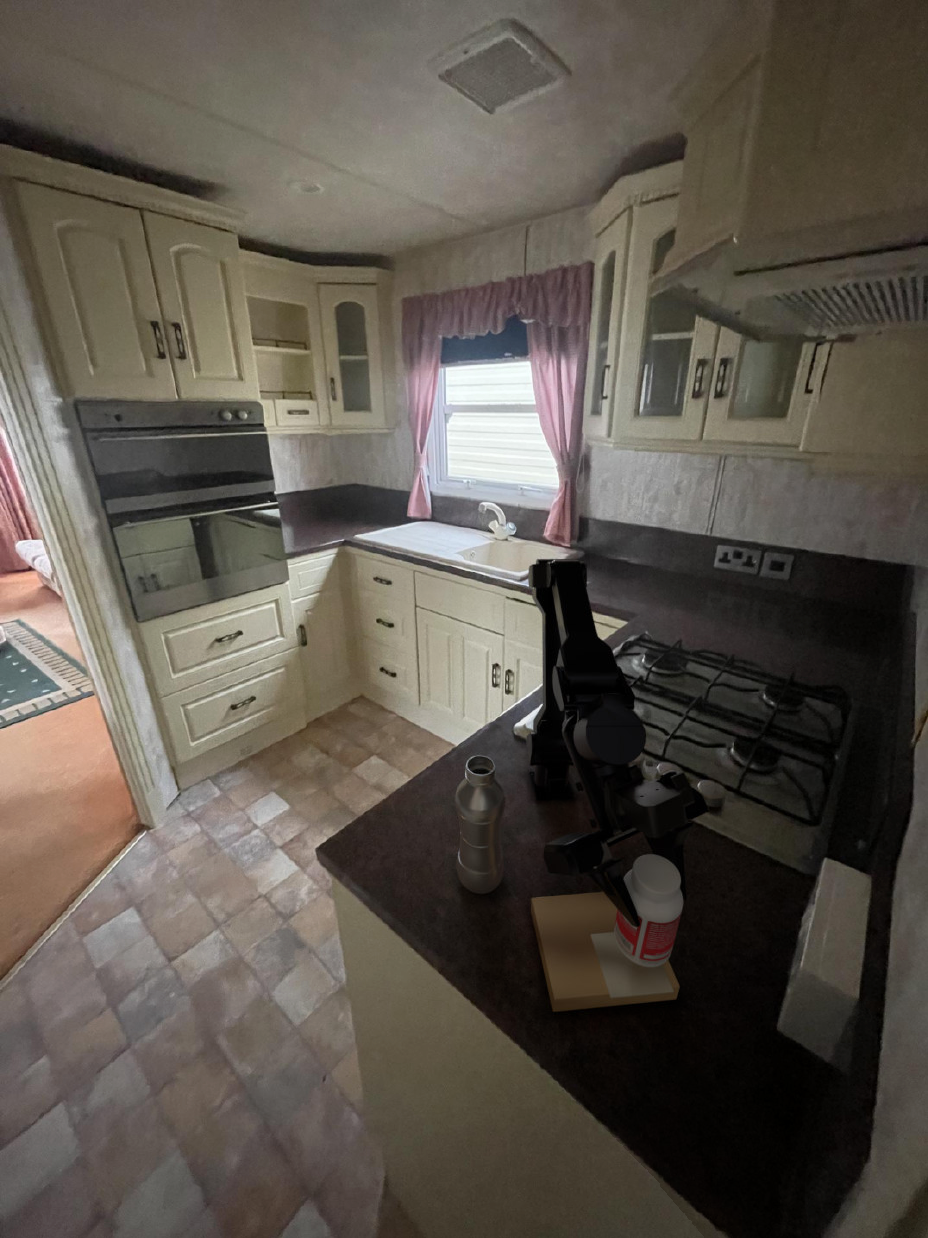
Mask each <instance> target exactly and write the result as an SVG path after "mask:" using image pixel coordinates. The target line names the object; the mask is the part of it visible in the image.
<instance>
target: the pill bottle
mask: <svg viewBox="0 0 928 1238" xmlns="http://www.w3.org/2000/svg"><path fill="white" fill-rule="evenodd" d="M623 879H624V882H625V884H626V887H627V889H628V891H629V894H630V896H631V899H632V901H633V904H634V906H635V909H636V911H637V914H638V918H639V921H640V926H639V927H634V926H632V925H631V924H630V923H629V922H628V920H627V919H626V918H625V917H624V916H623V915H622V913H621V912H620V911H619V910H618V909H617V915H616V921H615V927H614V936H615V940H616V943H617V945H618V947H619V949H620V950H621V952H622V953H623V954H624V955H625V956H626V957H627V958H628V959H629V960H631V961H633V962H634V963H636V964H638V965H641V966H644V967H658V966H660V965H662V964H664V963H665V962H666V961H667V960H668V961H669V959H670V957H671V954H672V951H673V949H674V944H675V940H676V936H677V932H678V929H679V924H680V920H681V916H682V912H683V907H684V901H683V895H682V892H681V890H680V884H681V877H680V873H679V871H678V869H677V868H676V867H675V866H674V864H672V863H671V862H670V861H669V860H667V859H665V858H664V857H661V856H658V855H654V854H653V853H646V854H643V855H640V856H638V857H636V859H635V860H634V862H633V865H632V868H631V869H630V870H629V871H627V872H626V874H625V875H624V877H623Z"/></svg>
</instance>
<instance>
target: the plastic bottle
mask: <svg viewBox="0 0 928 1238" xmlns="http://www.w3.org/2000/svg"><path fill="white" fill-rule="evenodd" d="M496 776H497V774H496V764H495V761H494V760H493V759H491V757H489V756H487V755H486V756H485V755H473V756H471V757H470V758H469V759H467V761H466V763H465V772H464V779H463V780H462V781H461V782H460V783H459V784H458V786H457V789H456V791H455V794H454V795H455V796H454V801H455V807H456V812H457V813H456V814H457V818H458V824H459V834H460V835H459V836H460V837H459V838H460V839H459V848H458V849H459V850H458V852H457V858H456V872H457V877H458V880H459V881H460V883H461V884H462V886H463V887H464V888H465V889H467V890H468V891H470V892H472V893H473V894H478V895H486V894H488V893H489V894H490V893H491V892H492V891H494V890H496V889H497V887H499V886H500V884H501V882H502V880H503V875H504V872H505V865H504V858H503V853H502V847H501V831H502V829H501V828H502V820H503V816H504V811H505V807H506V795H505V792H504V789H503V787H502V786H501V784H500V783H499V782H498V781H497V779H496V778H497V777H496Z"/></svg>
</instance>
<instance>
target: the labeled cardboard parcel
mask: <svg viewBox="0 0 928 1238" xmlns="http://www.w3.org/2000/svg"><path fill="white" fill-rule="evenodd" d="M530 904H531V905H530V913H531V917H532V922H533V927H534V932H535V936H536V941H537V946H538V949H539V954H540V959H541V963H542V964H541V965H542V969H543V973H544V978H545V982H546V986H547V991H548V997H549V1001H550V1004H551V1010H552V1012H553V1013H555V1012H556V1013H557V1012H567V1011H575V1010H586V1009H596V1008H597V1009H598V1008H607V1007H615V1006H624V1005H634V1004H643V1003H644V1004H645V1003H655V1002H664V1001H665V1002H666V1001H674V1000H677V998H678V994H679V992H680V987H681V986H680V983H679V982H678V979H677V977H676V975H675V972H674V970H673V967H672V965H671V963H670V961H669V959H668V960H667V961H666V962H665V963H664V964H662V965H660V966H658V967H644V966H641V965H638V964H636V963H634V962H633V961H631V960H629V959H628V958H627V957H626V956H625V955H624V954H623V953H622V952H621V950H620V949H619V947H618V945H617V943H616V940H615V936H614V927H615V921H616V915H617V908H616V906H615V905H614V904H613V903H612V902H611V901H610V899H609V898H608V897H607V896H606V895H605V894H604V892H603V891H596V892H585V893H575V894H563V895H562V894H560V895H553V896H552V895H549V896H539V897H538V896H537V897H531V902H530Z"/></svg>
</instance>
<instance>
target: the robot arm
mask: <svg viewBox="0 0 928 1238" xmlns="http://www.w3.org/2000/svg"><path fill="white" fill-rule="evenodd" d="M527 575H528V576H527V581H528V582H527V583H528V588H529V589H531V596H532V598H531V599H532V600H533V603H535V605H536V607H537V609H538V610H539V612H540V613H541V618H542V621H541V627H542V629H541V631H542V632H541V633H542V637H541V639H542V643H541V644H542V645H541V646H542V647H541V649H542V705H541V706H540V707H539V709H538V711H537V712H536V715H535V716H534V718H533V720H532V732H529V733H528V734H527V735H526V754H527V759H528V766H529V767H533V766H534V770H530V771H528V778H529V782H530V786H531V788H532V792H533V795H534V799H535V800H536V801H549V800H562V799H574V797H575V792H574V790H573V787H572V784H571V782H570V779H569V778H570V771H571V770H570V769H571V766H574V768H575V769H574V770H575V772H576V774H577V777H578V780H579V781H576V782H574V785H575V788H576V790H577V792H578V793H579V792H583V793H584V795H585V799H586V800H587V803H588V806H589V808H590V811H591V813H592V816H593V817H591V818H588V822H589V825H590V828H591V829H597V830H596V831H594V832H569V833H568V834H565V835H562V836H560V837H558V838H556V839H554V840H552V841H549V842H547V843H545V844H544V849H543V855H542V856H543V857H542V858H543V860H544V863H545V866H546V869H547V872H548V874H555V875H560V876H561V875H562V876H569V877H575V876H579V875H581V874H582V875H583V874H584V875H585V876H586V877H588V878H589V880H591V882H592V883H593V884H595V885H596V886H597V887H598V888H599V889H600V890H601V892H604V894H605V895H606V896H607V897H608V898H609V899H610V901H611V902H612V903H613V904H614V905H615V906H616V908H617V909H618V910H619V911H620V912H621V913H622V915H623V916H624V917H625V918H626V919H627V920H628V922H629V923H630V924H631V925H632V926H634V927H639V926H640V921H639V918H638V914H637V911H636V909H635V906H634V904H633V901H632V899H631V896H630V894H629V891H628V889H627V887H626V884H625V882H624V877H623V875H622V870H623V869H622V868H623V858H620V857H619V858H618V857H613V855H612V852H611V850H610V847H612V846H614V845H617V844H619V843H621V842H623V841H625V840H627V839H629V838H631V837H633V836H635V835H638V834H639V833H642V834H643V836H644V838H645V840H646V842H647V844H648V846H649V848H650V850H651V852H652V854H654V855H658V856H661V857H664V858H665V859H667V860H669V861H670V862H671V863H672V864H674V866H675V867H676V868H677V869H678V871H679V873H680V877H681V884H680V890H681V892H682V895H683V902H684V901H686V900H687V899H688V895H687V885H686V883H687V882H686V881H687V880H686V870H685V857H684V854H685V853H684V851H685V849H684V847H685V841H686V839H687V836H688V835H689V833H690V831H691V830H692V829H694V828H695V821H688V820H695V819H696V818H699V817H701V816H702V815H705V814H706V813H709V812H710V807H709V806H708V803H707V801H706V799H705V797H704V795H703V794H702V793H701V792H700V791H698V790H697V789H696V788H694V787H693V786H692V785H691V783H690V781H689V779H688V777H687V776H686V774H685V772H684V771H681V770H678V769H671V770H668V771H666V772H664V773H662V774H661V775H660V777H659V778H656V779H653V780H647V778H645V776H644V774H643V773H642V770H641V768H640V767H639V766H638V764H637V763H635V764H630V763H632V762H634V761H636V759H638V757H640V756H641V754H642V753H643V751H644V750H645V746H646V743H647V730H646V727H645V726H644V723H643V721H642V719H641V718H640V717H639V716H638V714H637V713H636V712H635V711H634V710H635V700H636V699H635V698H636V694H635V693H634V691H633V689H632V687H631V684H630V683H629V681H628V680H627V677H626V675H625V674H624V671H623V669H622V667H621V666H620V665H618V663H617V660H616V657H615V654H614V651H613V648H612V647H611V646H610V645H609V644H608V643H607V642H605V640H603V639H602V638H601V637H600V636H599V634H598V631H597V627H596V624H595V623H596V622H595V619H594V615H593V610H592V605H591V602H590V597H589V593H588V589H587V588H588V564H587V563H585V562H584V561H580V560H579V559H576V558H536V561H535V563H533V564H530V565H529V566H528V574H527Z"/></svg>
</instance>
